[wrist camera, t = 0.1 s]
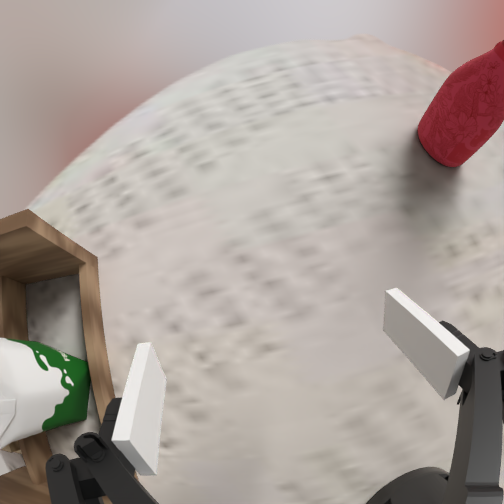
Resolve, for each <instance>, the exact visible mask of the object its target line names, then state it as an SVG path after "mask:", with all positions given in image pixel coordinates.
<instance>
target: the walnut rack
mask: <svg viewBox="0 0 504 504" xmlns="http://www.w3.org/2000/svg"><path fill="white" fill-rule="evenodd" d="M78 273H79V280H80V297H81V309H82V319H83V329H84V337H85V344H86V351H87V358H88V364H89V370H90V376H91V381H92V386H93V391H94V396H95V401H96V405H97V410H98V414H99V418H100V422H101V424H102V422H103V417H104V416H105V411H106V407H107V405H108V404H109V403H110V401H111V400H112V399H113V398H115V394H114V389H113V384H112V379H111V374H110V368H109V362H108V356H107V350H106V344H105V336H104V329H103V321H102V312H101V302H100V291H99V277H98V259H97V257H96V256H95V255H93V254H92V253H90V252H89V251H87V250H86V249H84V248H83V247H81V246H80V245H78V244H77V243H75V242H74V241H72V240H71V239H69V238H68V237H66V236H65V235H64V234H62V233H61V232H59V231H58V230H56V229H55V228H54V227H52V226H51V225H49V224H48V223H47V222H45V221H44V220H42V219H41V218H40V217H38V216H37V215H36V214H34V213H33V212H32V211H30V210H29V209H27V210H24V211H21V212H18V213H16V214H13V215H10V216H8V217H5V218H2V219H0V338H7V339H16V340H25V341H29V340H28V329H27V315H26V286H25V285H26V284H30V283H35V282H40V281H45V280H49V279H54V278H59V277H64V276H69V275H74V274H78ZM18 442H19V446H20V449H21V452H22V455H23V458H24V461H25V464H26V467H24V466H23V467H21V468H18V469H16V470H13V471H11V472H8V473H6V474H4V475H1V476H0V504H51V499H50V494H49V489H48V483H47V477H46V470H45V466H46V462H47V460H48V459H49V458H50V457H51V456H53V455H52V452H51V449H50V446H49V442H48V439H47V436H46V432H45V431H44V432H42V433H39V434H36V435H32V436H29V437H26V438H23V439H20V440H18ZM134 477H135V478H136V479H137V480H138V478H137V475H136V472H135V475H134ZM102 499H103V502H104V504H112V502H111V501H110V499H109V498H108V497H107V496H102Z"/></svg>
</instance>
